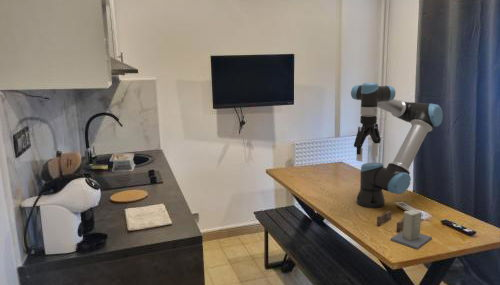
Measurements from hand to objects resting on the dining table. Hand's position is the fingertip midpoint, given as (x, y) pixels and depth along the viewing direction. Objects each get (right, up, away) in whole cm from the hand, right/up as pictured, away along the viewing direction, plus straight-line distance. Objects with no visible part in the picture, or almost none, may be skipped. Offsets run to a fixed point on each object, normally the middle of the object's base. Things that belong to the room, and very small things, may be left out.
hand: (367, 158), depth 187 cm
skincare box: (+14, -35, -18) cm, 41 cm away
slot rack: (+12, -32, -2) cm, 35 cm away
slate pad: (+14, -35, -18) cm, 42 cm away
